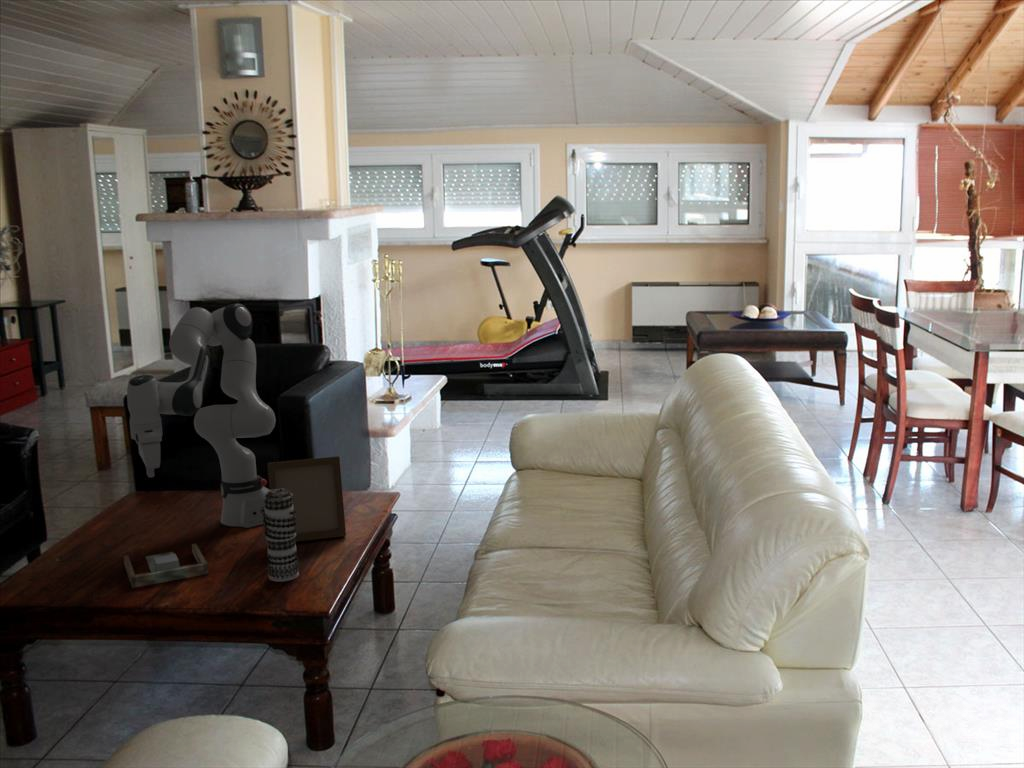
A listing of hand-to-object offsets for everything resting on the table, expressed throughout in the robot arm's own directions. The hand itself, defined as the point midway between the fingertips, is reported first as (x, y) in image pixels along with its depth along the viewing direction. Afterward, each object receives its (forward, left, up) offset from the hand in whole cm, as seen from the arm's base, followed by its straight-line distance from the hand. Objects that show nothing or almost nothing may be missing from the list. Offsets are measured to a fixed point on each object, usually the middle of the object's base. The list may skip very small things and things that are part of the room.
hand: (150, 476), depth 295 cm
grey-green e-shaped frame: (0, +13, -24) cm, 27 cm away
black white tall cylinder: (-29, +37, -24) cm, 53 cm away
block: (0, +18, -24) cm, 30 cm away
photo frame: (-44, +8, -24) cm, 51 cm away
